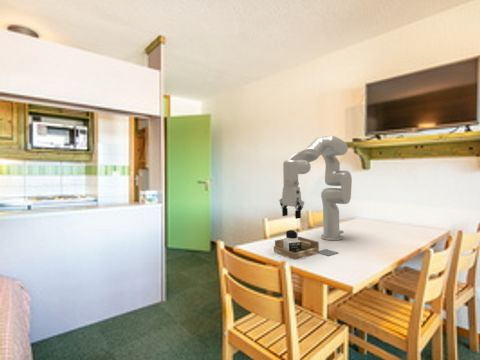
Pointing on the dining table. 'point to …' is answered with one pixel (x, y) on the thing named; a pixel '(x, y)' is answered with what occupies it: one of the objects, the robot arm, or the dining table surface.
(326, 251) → the mat
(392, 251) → the dining table surface
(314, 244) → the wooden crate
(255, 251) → the dining table surface
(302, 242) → the offcut stack
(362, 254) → the dining table surface
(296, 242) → the medicine bottle
